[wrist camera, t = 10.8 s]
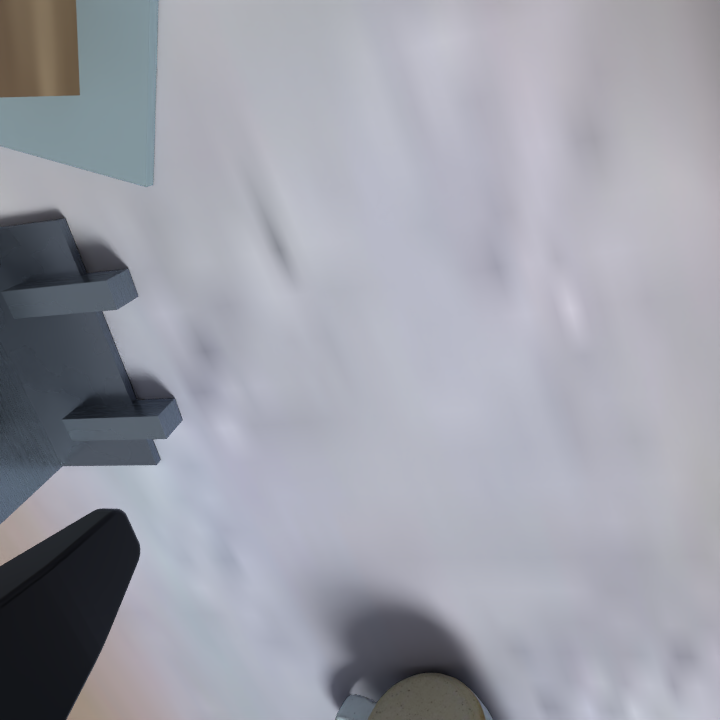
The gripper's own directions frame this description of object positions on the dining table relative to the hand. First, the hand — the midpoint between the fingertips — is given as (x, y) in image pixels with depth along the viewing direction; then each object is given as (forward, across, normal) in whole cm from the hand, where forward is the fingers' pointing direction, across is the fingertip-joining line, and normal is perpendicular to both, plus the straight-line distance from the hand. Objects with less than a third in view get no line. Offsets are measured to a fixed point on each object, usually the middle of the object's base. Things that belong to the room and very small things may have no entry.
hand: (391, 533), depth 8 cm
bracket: (+13, +17, +2) cm, 21 cm away
